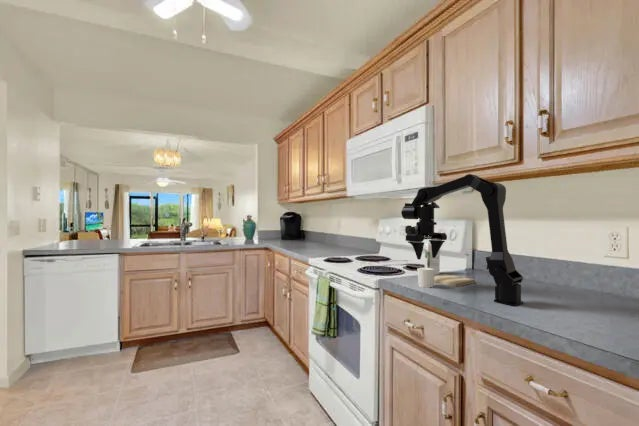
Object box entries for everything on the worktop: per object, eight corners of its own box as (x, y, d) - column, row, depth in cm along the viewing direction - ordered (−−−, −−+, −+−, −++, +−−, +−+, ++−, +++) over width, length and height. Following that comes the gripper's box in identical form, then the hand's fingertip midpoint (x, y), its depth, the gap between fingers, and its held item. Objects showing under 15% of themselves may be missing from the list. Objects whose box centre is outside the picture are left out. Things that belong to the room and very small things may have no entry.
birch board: (475, 282, 133) (475, 279, 133) (455, 286, 125) (455, 283, 125) (445, 276, 145) (445, 274, 145) (426, 280, 137) (426, 277, 137)
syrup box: (424, 272, 156) (424, 243, 156) (436, 272, 156) (436, 243, 156) (427, 274, 151) (427, 244, 151) (440, 274, 150) (440, 244, 150)
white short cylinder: (432, 288, 121) (432, 270, 121) (414, 286, 125) (414, 268, 126) (437, 285, 127) (437, 268, 127) (420, 283, 131) (420, 266, 131)
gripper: (425, 219, 138) (425, 254, 138) (395, 219, 128) (395, 257, 128) (447, 219, 129) (447, 257, 129) (417, 219, 119) (417, 261, 119)
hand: (426, 258), depth 126 cm, fingers open, 9 cm apart
